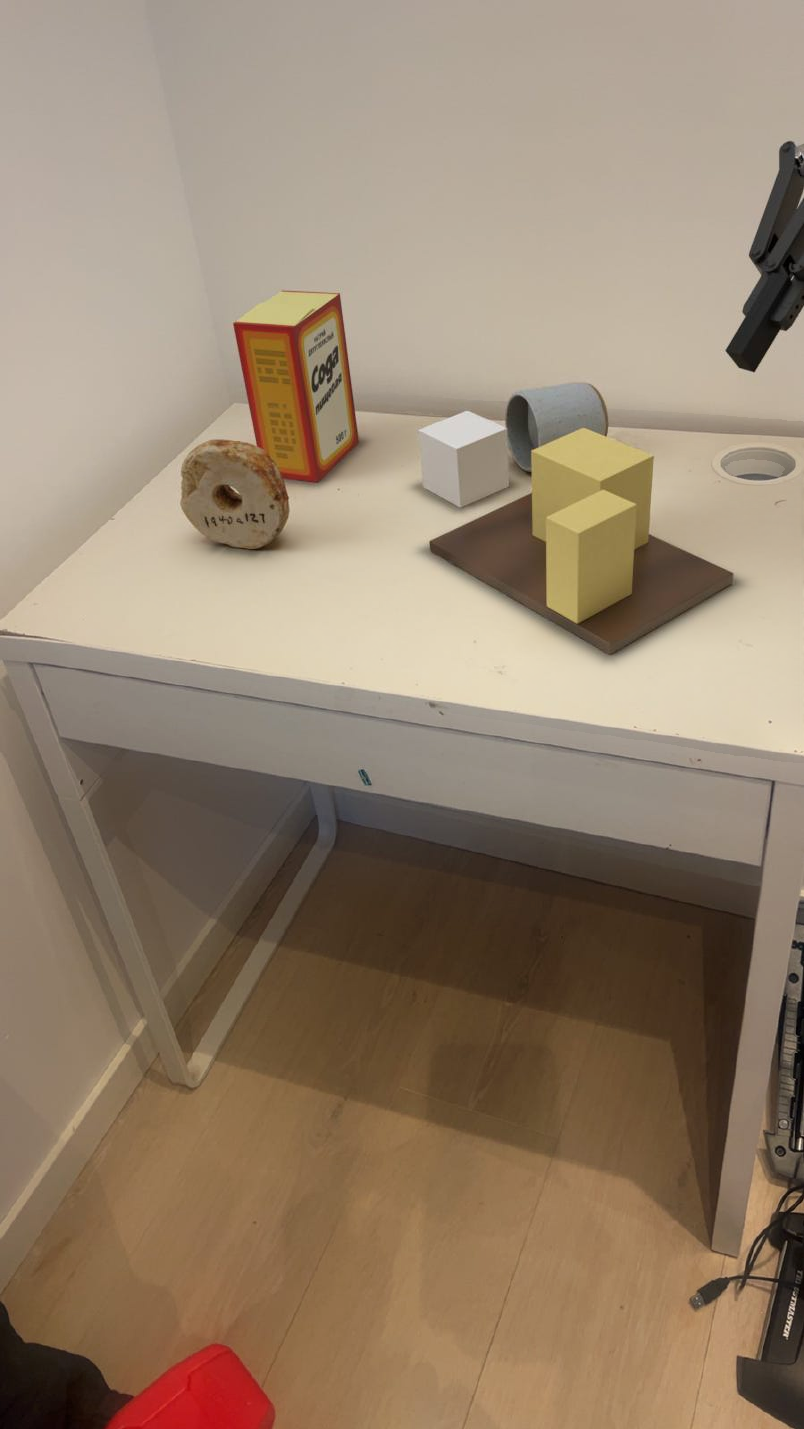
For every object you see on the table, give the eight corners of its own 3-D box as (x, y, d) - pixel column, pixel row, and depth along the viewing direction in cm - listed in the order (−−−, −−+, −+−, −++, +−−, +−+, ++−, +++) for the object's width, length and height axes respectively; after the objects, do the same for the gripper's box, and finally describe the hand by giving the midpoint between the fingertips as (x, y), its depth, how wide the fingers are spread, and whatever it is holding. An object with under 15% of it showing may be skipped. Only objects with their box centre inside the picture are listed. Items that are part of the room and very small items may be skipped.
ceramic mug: (613, 462, 102) (615, 386, 97) (539, 484, 100) (538, 407, 95) (559, 427, 110) (558, 354, 105) (490, 446, 108) (486, 373, 103)
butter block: (648, 542, 88) (654, 455, 83) (598, 569, 86) (600, 480, 81) (581, 511, 93) (583, 427, 88) (532, 535, 91) (530, 450, 86)
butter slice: (632, 594, 82) (637, 503, 77) (577, 624, 80) (578, 533, 75) (600, 577, 85) (603, 488, 80) (546, 606, 82) (545, 516, 77)
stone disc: (303, 536, 97) (286, 436, 90) (286, 557, 94) (267, 454, 88) (207, 525, 100) (183, 428, 94) (187, 545, 98) (162, 445, 91)
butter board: (732, 583, 84) (734, 572, 83) (610, 655, 78) (610, 644, 78) (545, 495, 98) (545, 486, 98) (429, 550, 93) (429, 540, 92)
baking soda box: (306, 436, 114) (281, 286, 104) (358, 442, 111) (339, 289, 101) (262, 475, 107) (232, 319, 97) (317, 482, 105) (292, 323, 95)
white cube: (470, 467, 105) (467, 410, 101) (509, 486, 101) (507, 428, 97) (422, 487, 102) (417, 429, 98) (460, 508, 98) (456, 448, 94)
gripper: (1011, 112, 75) (829, 406, 78) (851, 99, 83) (693, 365, 87) (990, 36, 69) (795, 357, 72) (821, 31, 78) (653, 318, 81)
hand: (740, 361), depth 80 cm, fingers closed
